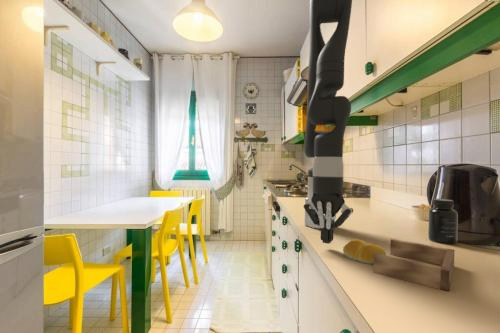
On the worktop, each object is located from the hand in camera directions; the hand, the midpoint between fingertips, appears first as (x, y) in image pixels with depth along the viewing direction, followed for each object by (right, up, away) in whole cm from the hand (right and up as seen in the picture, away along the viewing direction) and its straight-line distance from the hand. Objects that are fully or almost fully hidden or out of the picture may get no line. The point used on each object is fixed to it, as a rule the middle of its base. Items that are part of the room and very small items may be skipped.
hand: (326, 242), depth 67 cm
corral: (+14, -2, -12) cm, 19 cm away
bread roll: (+7, -2, -6) cm, 9 cm away
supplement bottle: (+36, -2, +9) cm, 37 cm away
